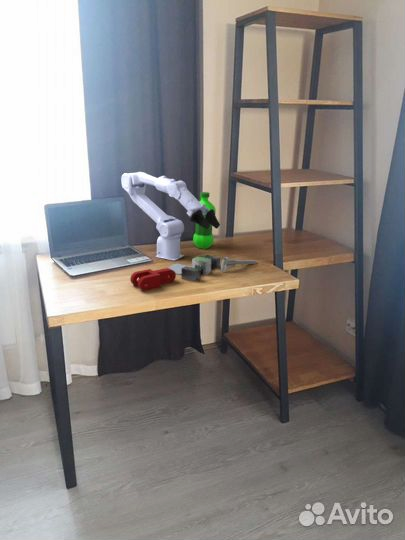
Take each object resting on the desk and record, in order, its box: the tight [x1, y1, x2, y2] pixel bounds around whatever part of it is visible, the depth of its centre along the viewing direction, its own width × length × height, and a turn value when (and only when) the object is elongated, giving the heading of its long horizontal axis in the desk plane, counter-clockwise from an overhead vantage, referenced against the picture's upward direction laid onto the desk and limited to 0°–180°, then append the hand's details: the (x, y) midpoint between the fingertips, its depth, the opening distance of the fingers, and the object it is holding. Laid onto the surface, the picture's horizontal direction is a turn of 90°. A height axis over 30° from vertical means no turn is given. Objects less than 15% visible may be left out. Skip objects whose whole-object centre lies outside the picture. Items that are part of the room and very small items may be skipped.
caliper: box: [220, 256, 258, 273], centre depth 181 cm, size 20×1×6 cm, turn 132°
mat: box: [167, 263, 192, 276], centre depth 177 cm, size 8×10×1 cm
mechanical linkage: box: [130, 267, 177, 292], centre depth 161 cm, size 16×7×5 cm, turn 126°
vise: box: [180, 254, 221, 282], centre depth 174 cm, size 6×20×4 cm, turn 151°
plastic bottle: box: [192, 191, 217, 250], centre depth 203 cm, size 10×10×25 cm
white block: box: [191, 256, 212, 276], centre depth 174 cm, size 6×4×6 cm, turn 61°
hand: (213, 227), depth 173 cm, fingers open, 7 cm apart
